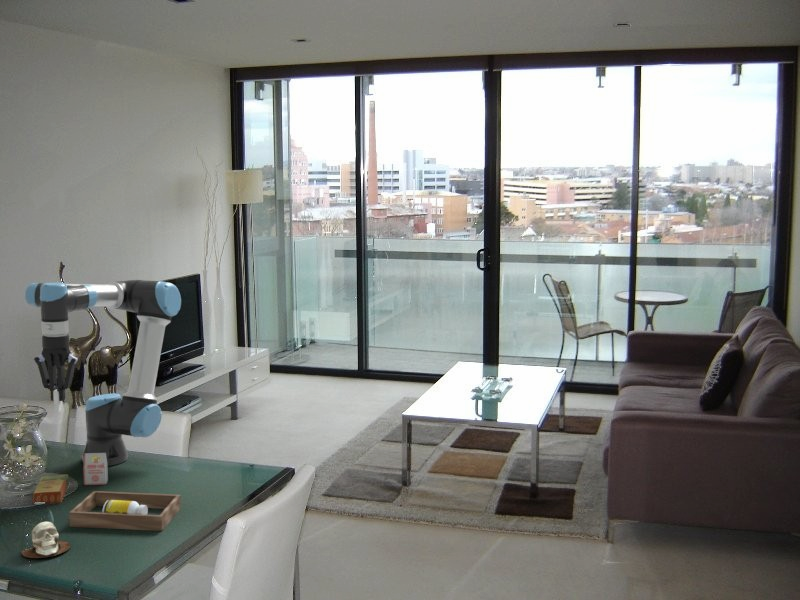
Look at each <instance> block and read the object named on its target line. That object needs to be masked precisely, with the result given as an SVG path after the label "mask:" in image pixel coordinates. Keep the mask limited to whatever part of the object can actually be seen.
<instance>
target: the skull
mask: <svg viewBox="0 0 800 600" xmlns="http://www.w3.org/2000/svg"><path fill="white" fill-rule="evenodd" d="M59 537H60V535H59V532H58V531H57V528H56V526H55V524H54V522H53V523H52V522H51V521H42V522H39V523H38V524H37V525H35V527H33V528H32V531H31V541H32V546H34V547H35V548H30V549H25V548H24V549H25V550H26V551H23V550H21V555H22V556H23V557H25V558H29V559H41V558H49V557H55V556H58V555H61V554H62V553H65V552H67V551H68V550H69V549H70V548H71V544H70V543H69V542H67V541H62V540H59Z"/></svg>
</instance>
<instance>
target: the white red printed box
mask: <svg viewBox="0 0 800 600" xmlns="http://www.w3.org/2000/svg"><path fill="white" fill-rule="evenodd" d="M108 467H109V466H107V458H106V453H84V463H83V468H82V469H83V485H84V486H97V485H98V486H99V485H103V486H104V485H106V484H108V482H109V476H108V474H109V473H108Z"/></svg>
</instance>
